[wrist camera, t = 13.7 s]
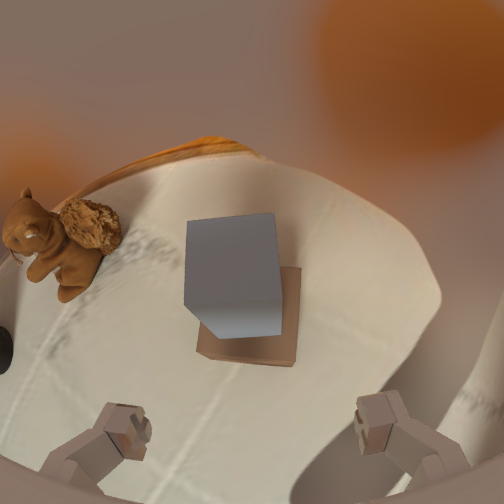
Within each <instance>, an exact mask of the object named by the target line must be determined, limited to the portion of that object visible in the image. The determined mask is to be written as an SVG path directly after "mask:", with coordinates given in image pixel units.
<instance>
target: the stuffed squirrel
mask: <svg viewBox="0 0 504 504" xmlns="http://www.w3.org/2000/svg"><path fill="white" fill-rule="evenodd" d="M120 226H121V225H120V223H119V216H118V215H116V213H115V211H114V212H113V210H112V209H111V208H109V206H107V205H106V206H104V205H102V204H101V203H98V204H96V203H93V202H91V201H89V200H88V201H87V200H82V199H81V198H75V199H70V201H66V203H65V207H63V208H62V211H61V212H60V214H57V213H54V212H48V211H47V210H45V209H43V207H42V206H41V205H40V204H39V203H38V202H36V201H35V200H33V199H32V195H31V191H30V189H29V188H28V187H24V188H23V189H22V191H21V194H20V200H19V201H17V202H16V203H15V204H14V205H13V207H12V208H11V210H10V211H9V213H8V215H7V217H6V220H5V222H4V226H3V230H2V240H3V242H4V244H5V246H6V247H7V248H8V249H9V251H10V253H11V255H12V257H13V258H14V260H15V261H16V262H17V264H18V265H19V267H20V264H23V262H21V261H19V260H18V259H17V258H16V257H15V256H14V254H13V252H14V253H19V254H20V253H21V254H22V255H24V256H31V255H33V254H34V255H35V256H36V259H35V260H34V262H33V263H32V264H31V265H30V267H29V268H28V269H27V278H28V280H30V281H31V282H34V283H37V282H40V281H41V280H43V279H44V278H45V277H46V276H47V275H48V274H49V273H50V272H51V271H53V273H54V274H55V276H56V279H57V281H58V282H59V283H60V286H59V288H58V299H59V301H61V302H62V303H67V302H69V301H71V300H72V299H74V298H75V297H76V296H78V295H79V294H81V293H82V292H83V291H85V290H86V289H87V288H88V287H89V285H90V284H91V282H92V280H93V278H94V275H95V273H96V270H97V268H98V265H99V262H100V260H101V257H103V256H106V255H110V253H114V251H113V250H114V249H116V248H117V247H118V245H119V242H120V241H121V236H120V233H121V231H120V230H121V228H120ZM19 263H20V264H19Z"/></svg>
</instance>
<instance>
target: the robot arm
mask: <svg viewBox="0 0 504 504" xmlns="http://www.w3.org/2000/svg"><path fill="white" fill-rule="evenodd" d="M356 405H357V408H358V409H357V410H356V411H355V417H354V422H355V429H356V433H357V435H359V436H360V441H359V445H360V449H361V453H362V456H366V455H372V454H377V453H382V452H384V453H385V455H387V456H388V457H389V458H390V459H391V460H392V461H394V462H395V463H396V464H397V465H398V466H399V467H401V468H402V469H403V470H404V471H405V472H407V473H408V474H409V475H410V476H411V477H412V479H411V480H410V482H409V484H408V485H407V487H406V489H405V490H404V492H402V493H399V494H395V495H391V496H387V497H383V498H379V499H376V500H371V501H366V502H361V503H357V504H504V452H502V453H500V454H498V455H497V456H495V457H493V458H491V459H489V460H486V461H484V462H482V463H480V464H478V465H476V466H474V467H471V468H470V465H469V463H468V461H467V459H466V457H465V455H464V453H463V451H462V449H461V447H460V445H459V444H458V443H456V442H455V441H453V440H451V439H449V438H448V437H446V436H444V435H442V434H441V433H439V432H437V431H435V430H434V429H432V428H430V427H428V426H427V425H425V424H423V423H422V422H420V421H418V420H416V419H415V418H414V419H411V418H410V416H409V414H408V411H407V409H406V407H405V405H404V403H403V401H402V398H401V396H400V394H399V392H398V391H397V390H391V391H386V392H381V393H376V394H371V395H366V396H361V397H358V398H357V402H356ZM144 414H145V411H144V409H143V407H140V406H133V405H125V404H117V403H110V402H108V403H107V404H105V406H104V408H103V410H102V412H101V413H100V415H99V417H98V419H97V421H96V423H95V424H94V426H93V428H92V429H88V430H86V431H85V432H83V433H81V434H80V435H78V436H76V437H75V438H73V439H72V440H70V441H68V442H67V443H65V444H63V445H62V446H60V447H58V448H57V449H55V450H53V451H51V452H50V453H49V455H48V457H47V459H46V460H45V462H44V464H43V466H42V467H41V469H40V471H39V472H37V471H34V470H32V469H30V468H27V467H25V466H23V465H21V464H19V463H17V462H14V461H12V460H10V459H8V458H6V457H4V456H2V455H1V454H0V504H143V503H138V502H133V501H128V500H124V499H119V498H115V497H111V496H107V495H104V492H103V491H102V490H101V489H100V488H99V486H98V485H97V483H98V482H100V481H101V480H102V479H103V478H104V477H105V476H107V475H108V474H109V473H110V472H111V471H112V470H113V469H114V468H116V467H117V466H118V465H119V464H120V463H121V462H122V461H123V460H124V459H130V460H137V461H143V459H144V456H145V453H146V450H147V448H146V446H145V444H146V443H148V442H149V441H150V439H151V435H152V427H151V423H150V421H149V420H148V419H147V418H146V417H145V416H144Z"/></svg>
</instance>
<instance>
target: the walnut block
mask: <svg viewBox="0 0 504 504" xmlns="http://www.w3.org/2000/svg"><path fill="white" fill-rule="evenodd" d="M280 276H281V286H282V297H283V301H282V327H281V335H274V336H261V337H245V338H227V339H219V338H218V337H217V336H216V335H214V334H213V333H212V332H211V331H210V330H209V329H208V328H207V327H206V326H205V325H204V324H203V323H202V322H200V328H199V335H198V342H197V349H196V352H198V353H200V354H201V355H203V356H205V357H207V358H209V359H212V360H220V361H229V362H237V363H247V364H257V365H269V366H282V367H292V366H293V365H294V363H295V360H296V347H297V334H298V320H299V304H300V286H301V268H293V267H280Z"/></svg>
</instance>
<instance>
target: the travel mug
mask: <svg viewBox="0 0 504 504" xmlns="http://www.w3.org/2000/svg"><path fill="white" fill-rule="evenodd" d="M12 356H13V344H12V339H11V336H10V334H9V332H8V331H7V330H6V329H5V328H3V327H2V326H0V375H1V374H3V373H5V372H6V371H7V370H8V368H9V366H10V364H11V361H12Z"/></svg>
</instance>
